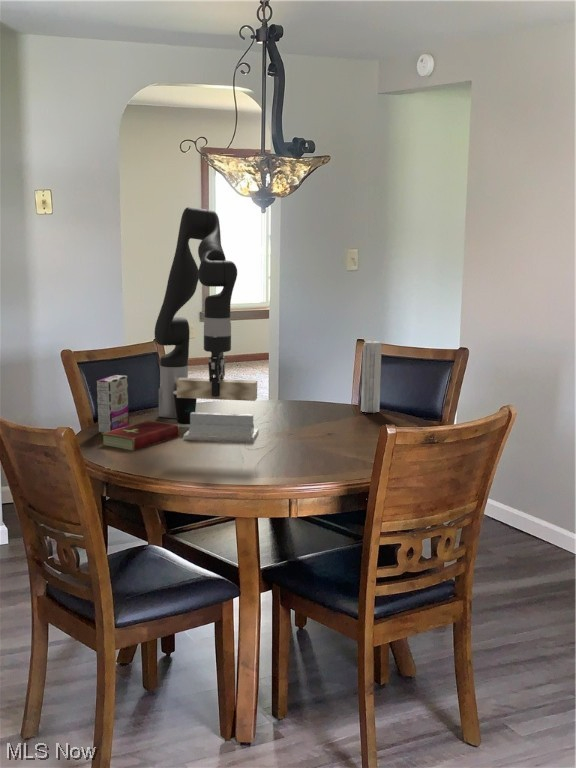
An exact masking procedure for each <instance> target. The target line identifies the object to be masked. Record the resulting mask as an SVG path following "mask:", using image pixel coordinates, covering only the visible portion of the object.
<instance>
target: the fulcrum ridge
mask: <svg viewBox="0 0 576 768" xmlns="http://www.w3.org/2000/svg"><path fill="white" fill-rule="evenodd" d="M188 428H189V429H188V430H187V431H186V432H184V433H183V440H184V441H200V442H201V441H203V442H228V443H229V442H230V443H248V444H249V443H251V444H252V443H254V442H255V440H256V439H257V437H258V435H259V428H255V423H254V414H252V413H244V414H243V413H222V412H202V411H201V412H197V411H195V412H191V413H190V424H189V427H188Z"/></svg>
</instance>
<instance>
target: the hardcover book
mask: <svg viewBox="0 0 576 768" xmlns="http://www.w3.org/2000/svg"><path fill="white" fill-rule="evenodd" d="M100 433H101V432H100ZM101 435H102V436H103V446H108V447H114V448H119V449H124V450H131V451H133V452H134V451H136V450H140V449H142V448H146V447H150V446H152V445H155V444H159V443H163V442H165V441H169V440H172V439H175V438H178V437H179V436H180V427H179V426H178V424H174V423H168V422H160V421H157V420H156V421H155V420H149V419H148V420H144V421H140V422H137V423H133V424H129V426H126V427H122V428H119V429H115V430H111V431H108V432H104V433H101Z"/></svg>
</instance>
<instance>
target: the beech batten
mask: <svg viewBox="0 0 576 768" xmlns="http://www.w3.org/2000/svg"><path fill="white" fill-rule="evenodd" d="M177 398H197V400H199V399H201V400H202V399H203V400H225V401H226V400H229V401H247V402H255V401H257V399H258V380H254V379H253V380H249V379H246V380H245V379H226V378H225V379H220V396H219V397H213V396H212V383H211V382H210V381H209V378H201V377H200V378H198V377H197V378H196V377H188V378H179V379H177Z"/></svg>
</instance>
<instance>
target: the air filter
mask: <svg viewBox="0 0 576 768" xmlns="http://www.w3.org/2000/svg"><path fill="white" fill-rule="evenodd" d="M361 363H362V364H361V393H360V395H361V396H360V397H361V398H360V412H361V411H362V412H373V413H375V412H379V413H380V399H381V398H380V397H381V375H382V374H381V373H382V372H381V371H382V370H381V369H382V343H381V341H378V340H377V341H374V340H366V341H364V343H363V344H362V362H361ZM362 412H361V413H362Z"/></svg>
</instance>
